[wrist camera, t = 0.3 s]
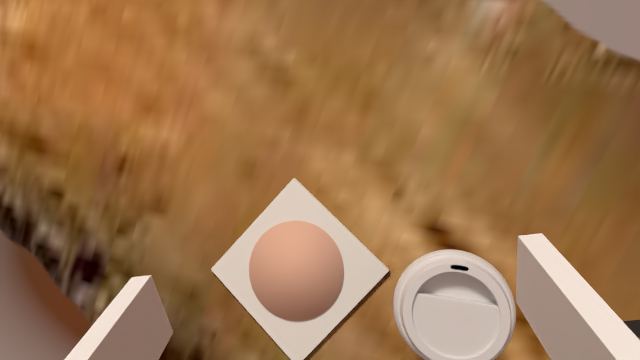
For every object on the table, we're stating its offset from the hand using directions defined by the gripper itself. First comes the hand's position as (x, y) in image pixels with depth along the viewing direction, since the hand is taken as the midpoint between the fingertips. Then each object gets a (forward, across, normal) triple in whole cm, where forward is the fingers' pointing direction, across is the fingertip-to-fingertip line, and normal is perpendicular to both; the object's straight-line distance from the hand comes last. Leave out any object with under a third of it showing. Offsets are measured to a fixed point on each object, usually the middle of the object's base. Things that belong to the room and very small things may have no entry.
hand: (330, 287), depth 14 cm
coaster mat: (+29, +8, +19) cm, 35 cm away
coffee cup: (+26, -9, +21) cm, 34 cm away
